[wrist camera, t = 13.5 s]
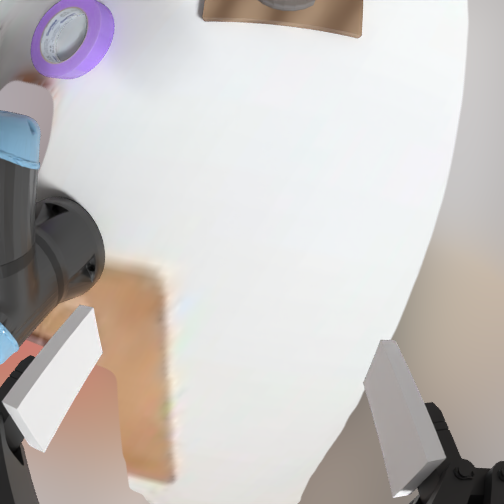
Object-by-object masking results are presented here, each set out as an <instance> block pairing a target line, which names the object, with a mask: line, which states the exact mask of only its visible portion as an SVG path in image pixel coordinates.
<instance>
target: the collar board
mask: <svg viewBox="0 0 504 504" xmlns="http://www.w3.org/2000/svg"><path fill="white" fill-rule="evenodd" d="M202 18H203V20H204V21H219V22H247V23H262V24H273V25H283V26H291V27H299V28H306V29H313V30H319V31H325V32H330V33H335V34H340V35H345V36H350V37H355V38H359V37H360V36H361V35H362V18H363V0H205V2H204V9H203V16H202Z"/></svg>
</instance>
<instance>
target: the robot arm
mask: <svg viewBox="0 0 504 504" xmlns="http://www.w3.org/2000/svg"><path fill="white" fill-rule="evenodd" d="M39 147H40V128H39V126H38V123H37V122H36V121H35V120H34V119H33V118H31V117H29V116H26V115H22V114H17V113H13V112H7V111H1V110H0V364H2V363H4V362H5V361H6V360H7V359H8V358H9V357H10V356H11V355H12V354H13V353H14V352H17V351H18V349H19V347H20V346H21V344H22V343H23V342H24V341H25V340H26V339H27V338H28V336H29V335H30V334H31V333H32V332H33V331H34V330H35V329H36V327H37V326H38V325H39V324H40V323H41V322H42V321H43V320H44V319H45V317H46V316H47V315H48V314H49V313H50V312H51V311H52V310H53V309H54V308H55V307H56V306H57V305H58V304H59V303H62V302H64V301H67V300H70V299H73V298H75V297H78V296H81V295H83V294H84V293H86V292H87V291H88V290H89V289H90V288H91V287H92V286H93V285H94V284H95V283H96V282H97V281H98V279H99V278H100V276H101V274H102V271H103V268H104V263H105V251H104V244H103V240H102V237H101V234H100V232H99V229H98V227H97V225H96V224H95V222H94V220H93V219H92V218H91V216H90V215H89V214H88V213H87V212H86V210H84V209H83V208H82V207H81V206H80V205H78V204H77V203H75V202H74V201H72V200H70V199H67V198H63V197H50V198H47V199H45V200H43V201H40V202H38V203H36V187H37V175H38V169H39V168H40V163H39ZM102 353H103V352H102V348H101V343H100V339H99V334H98V329H97V324H96V319H95V314H94V308H93V307H88V306H83V305H79V306H78V308H77V309H76V310H75V311H74V312H73V313H72V314H71V316H70V317H69V318H68V319H67V320H66V321H65V322H64V324H63V325H62V326H61V327H60V328H59V329H58V331H57V332H56V333H55V334H54V335H53V337H52V338H51V339H50V340H49V341H48V343H47V344H46V345H45V346H44V347H43V349H42V350H41V351H40V352H39V354H38V355H37V356H36V357H34V356H31V355H30V356H28V357H27V358H25V359H24V360H22V361H21V362H20V363H19V364H18V366H17V367H16V368H15V371H13V372H12V373H11V374H10V377H8V378H7V379H6V381H5V382H4V383H3V385H2V386H1V387H0V504H39V502H38V499H37V496H36V492H35V489H34V486H33V482H32V479H31V475H30V472H29V468H28V464H27V460H26V456H25V451H24V448H23V445H22V443H21V442H22V441H23V439H24V438H25V439H26V441H27V442H28V444H29V445H30V446H31V447H34V448H36V449H38V450H40V451H42V452H45V451H46V449H47V447H48V445H49V443H50V441H51V440H52V438H53V436H54V434H55V432H56V430H57V429H58V427H59V425H60V423H61V421H62V420H63V418H64V416H65V414H66V413H67V411H68V409H69V407H70V406H71V404H72V402H73V401H74V399H75V397H76V395H77V394H78V392H79V390H80V389H81V387H82V385H83V384H84V382H85V380H86V379H87V377H88V375H89V374H90V372H91V370H92V369H93V367H94V366H95V364H96V362H97V361H98V359H99V358H100V356H101V354H102ZM363 384H364V387H365V391H366V394H367V397H368V401H369V405H370V408H371V412H372V415H373V419H374V423H375V426H376V430H377V434H378V438H379V441H380V446H381V449H382V453H383V457H384V462H385V465H386V470H387V474H388V478H389V483H390V487H391V491H392V496H393V498H394V497H400V496H405V495H410V494H411V493H412V492H413V491H414V490H415V489H417V488H418V491H419V495H418V496H417V497H416V498H414V500H412V501H411V502H410V503H409V504H504V461H500V462H498V463H496V464H495V465H494V466H493V467H492V468H491V469H487V468H475V467H474V465H473V464H472V463H471V462H469V461H468V460H465V459H462V458H461V456H460V454H459V452H458V449H457V447H456V445H455V442H454V440H453V437H452V435H451V433H450V430H448V426H447V424H446V422H445V419H444V417H443V414H442V412H441V410H440V409H439V408H438V407H437V406H436V405H435V404H434V403H433V402H432V403H424V402H423V399H422V397H421V395H420V392H419V391H418V388H417V386H416V384H415V381H414V379H413V377H412V375H411V372H410V370H409V368H408V366H407V364H406V362H405V360H404V358H403V355H402V354H401V351H400V349H399V347H398V345H397V343H396V341H395V340H380V343H379V345H378V348H377V350H376V353H375V355H374V358H373V360H372V363H371V365H370V368H369V370H368V373H367V375H366V377H365V380H364V382H363Z"/></svg>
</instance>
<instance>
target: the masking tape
mask: <svg viewBox="0 0 504 504" xmlns="http://www.w3.org/2000/svg"><path fill="white" fill-rule="evenodd" d="M83 14H85V15H86V18H87V32H86V35H85V38H84V40H83V42H82V44H81V45H80V47H79V48H78V50H77V51H76V52H75V53H74V54H73V55H72V56H71V57H69V58H68V59H66V60H64V61H62V62H61V61H60V60H59V59H58V57H57V54H56V42H57V38H58V36H59V33H60V32H61V30H62V28H63V27H64V26H65V25H66V24H67V23H68V22H69V21H70V20H71V19H73V18H74V17H76V16H79V15H83ZM113 34H114V19H113V16H112V13H111V12H110V10H109V9H108V8H107V7H106V6H105V5H103V4H101V3H100V2H98V1H96V0H61V1H59V2H58V3H57V4H55V5H54V6H53V7H51V8H50V9H49V10H48V11H47V12H46V14H45V15H44V16H43V18H42V19H41V20H40V22H39V24H38V26H37V27H36V30H35V32H34V35H33V38H32V43H31V58H32V62H33V65H34V67H35V68H36V70H37V71H38V72H39V73H40V74H42V75H44V76H46V77H52V78H62V79H73V78H77V77H80V76H82V75H84V74H86V73H87V72H89V71H90V70H91V69H93V68H94V67H95V66H96V65H97V64H98V63H99V62H100V61H101V60H102V58H103V57H104V55H105V54H106V52H107V51H108V49H109V47H110V44H111V42H112V39H113Z"/></svg>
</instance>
